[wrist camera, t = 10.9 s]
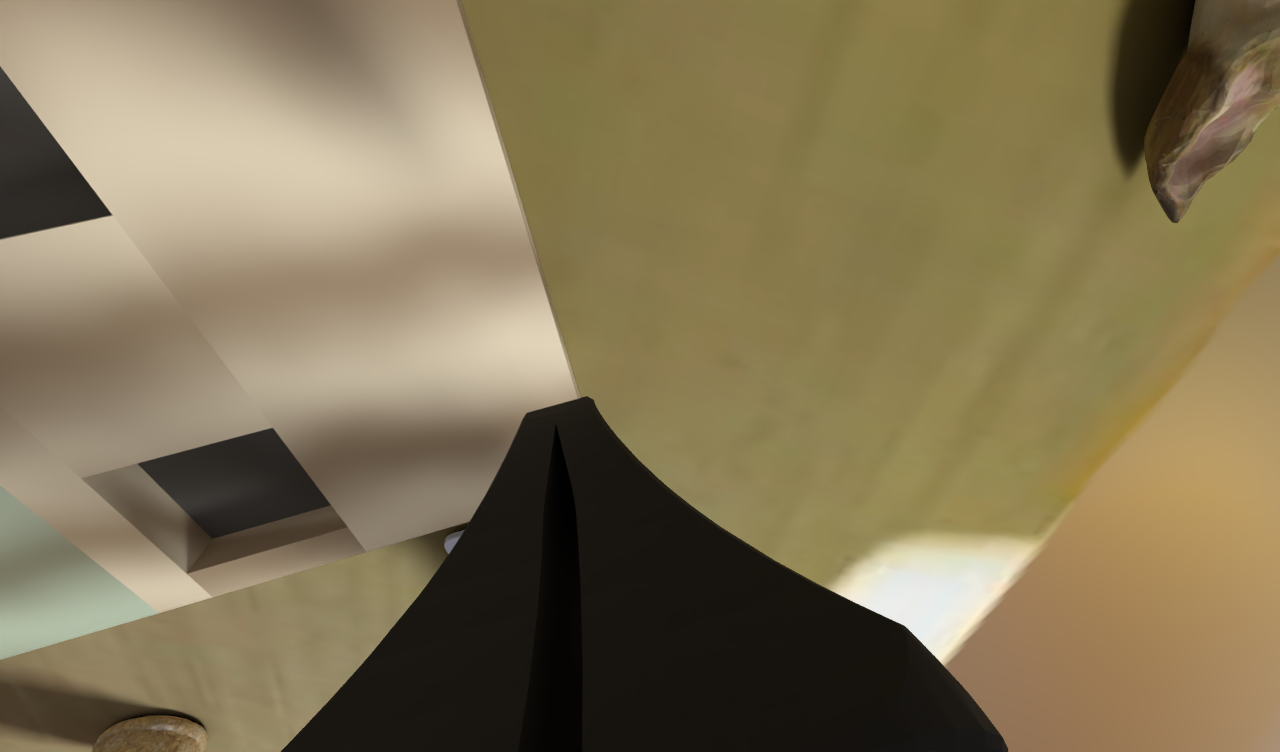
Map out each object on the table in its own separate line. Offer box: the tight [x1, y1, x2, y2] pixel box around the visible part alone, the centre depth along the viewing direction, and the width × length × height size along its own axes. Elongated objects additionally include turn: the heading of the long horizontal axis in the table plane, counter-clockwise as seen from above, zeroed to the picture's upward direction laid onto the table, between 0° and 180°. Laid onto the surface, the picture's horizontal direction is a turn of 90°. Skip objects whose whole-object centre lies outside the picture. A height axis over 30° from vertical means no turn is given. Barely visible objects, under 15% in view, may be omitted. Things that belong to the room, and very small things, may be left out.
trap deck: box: [0, 0, 580, 660], centre depth 13 cm, size 20×26×4 cm
